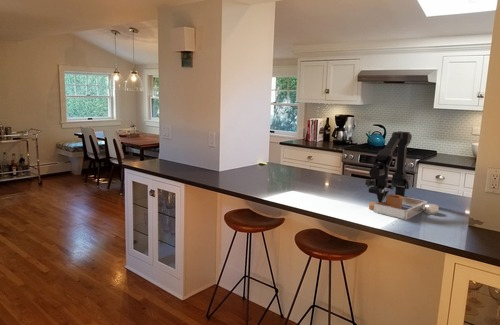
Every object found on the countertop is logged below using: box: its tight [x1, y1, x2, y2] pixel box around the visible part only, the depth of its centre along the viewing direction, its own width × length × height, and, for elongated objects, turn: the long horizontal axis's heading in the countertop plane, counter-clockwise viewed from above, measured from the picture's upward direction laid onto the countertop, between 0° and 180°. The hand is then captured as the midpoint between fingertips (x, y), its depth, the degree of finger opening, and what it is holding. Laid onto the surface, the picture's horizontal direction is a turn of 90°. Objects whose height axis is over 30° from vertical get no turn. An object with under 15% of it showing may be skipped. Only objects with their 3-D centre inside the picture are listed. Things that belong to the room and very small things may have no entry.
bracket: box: [368, 193, 403, 212], centre depth 201 cm, size 18×8×7 cm, turn 102°
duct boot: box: [373, 196, 428, 221], centre depth 199 cm, size 26×17×4 cm, turn 136°
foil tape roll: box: [423, 203, 439, 215], centre depth 197 cm, size 6×6×4 cm
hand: (379, 203), depth 207 cm, fingers closed
